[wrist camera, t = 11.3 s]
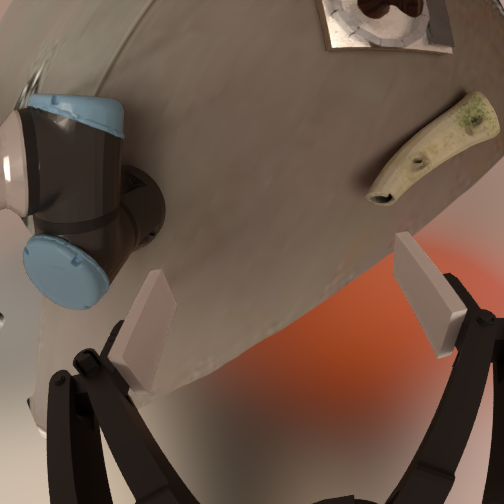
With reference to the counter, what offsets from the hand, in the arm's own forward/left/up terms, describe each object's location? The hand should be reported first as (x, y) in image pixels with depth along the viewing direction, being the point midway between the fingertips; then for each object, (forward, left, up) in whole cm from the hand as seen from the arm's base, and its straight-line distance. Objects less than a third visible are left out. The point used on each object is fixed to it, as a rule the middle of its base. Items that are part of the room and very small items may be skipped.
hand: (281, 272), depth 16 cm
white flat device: (+21, +22, -33) cm, 44 cm away
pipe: (+26, -2, -33) cm, 42 cm away
